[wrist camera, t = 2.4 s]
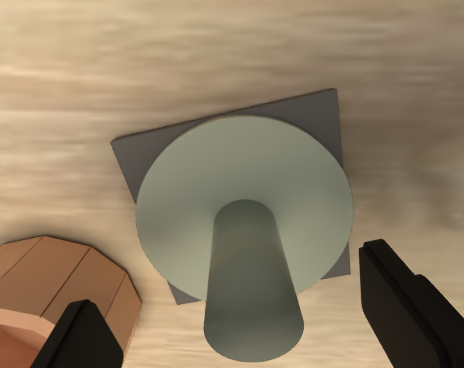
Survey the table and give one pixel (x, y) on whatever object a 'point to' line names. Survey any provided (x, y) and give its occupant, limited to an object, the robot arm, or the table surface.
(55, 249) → the bowl
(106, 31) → the table surface
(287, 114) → the mat
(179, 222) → the lid
